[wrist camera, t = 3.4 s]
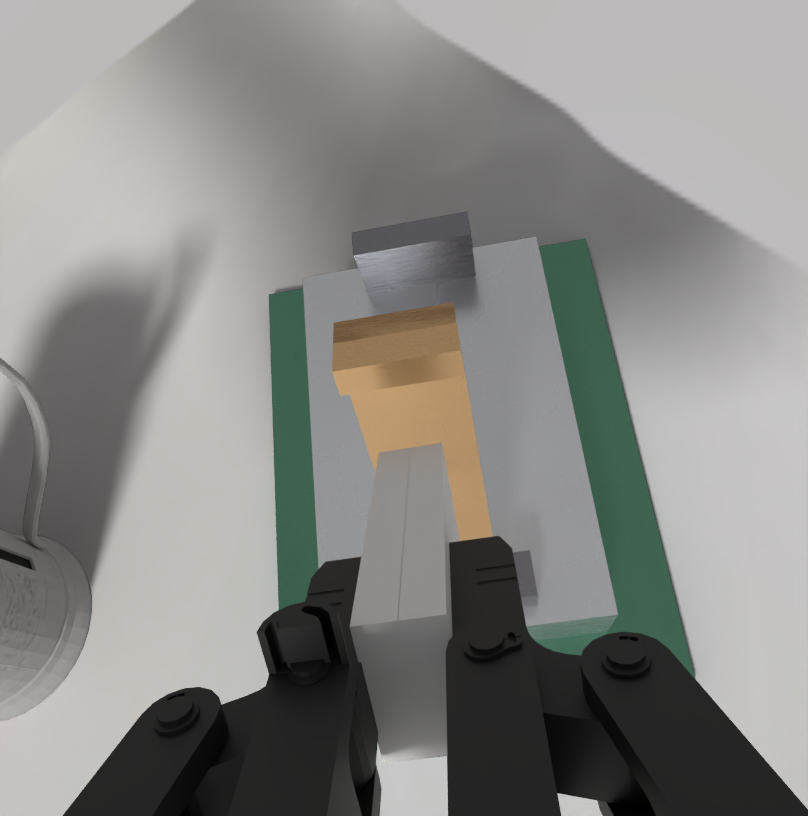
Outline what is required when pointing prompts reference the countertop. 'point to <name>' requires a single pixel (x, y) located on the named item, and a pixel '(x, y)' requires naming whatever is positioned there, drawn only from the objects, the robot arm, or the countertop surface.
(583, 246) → the green base fixture
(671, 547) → the countertop surface
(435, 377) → the tan rectangular bar
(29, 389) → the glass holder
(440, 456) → the robot arm
